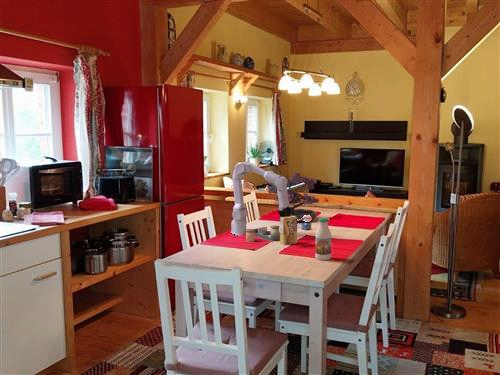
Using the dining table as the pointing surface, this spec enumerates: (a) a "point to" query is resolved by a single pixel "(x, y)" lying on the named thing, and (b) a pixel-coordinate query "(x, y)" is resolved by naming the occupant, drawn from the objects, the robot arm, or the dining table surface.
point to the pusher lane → (267, 236)
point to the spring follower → (262, 230)
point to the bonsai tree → (298, 195)
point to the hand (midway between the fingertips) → (286, 220)
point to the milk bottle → (323, 240)
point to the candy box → (288, 230)
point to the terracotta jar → (250, 235)
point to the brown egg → (274, 230)
